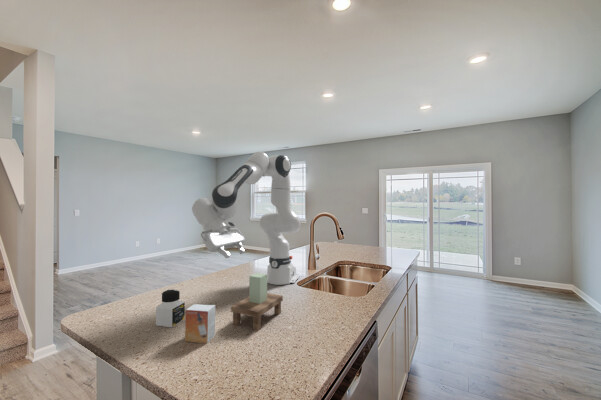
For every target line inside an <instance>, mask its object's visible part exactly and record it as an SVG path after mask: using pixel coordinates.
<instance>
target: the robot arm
mask: <svg viewBox="0 0 601 400" xmlns="http://www.w3.org/2000/svg"><path fill="white" fill-rule="evenodd" d="M291 168H292V164H291V159H290V158H289V157H288V156H287V155H283V154H281V155H280V154H279V155H270V156H268V155H267V153H265V152H263V151H255V152H254V153H252V155H251V156H249V157H248V158H247V159H246V161H244V163H243V164H242V165H241V166H240V167H239V168H238V169H237V170H236V171H234V172H233V174H231V176H229V177H228V179H226V180H225V181H224V182H221V183H220V184H218V185H216V186H215V187H214V188H213V190H212V193H211V197H212V198H206V197H200V198H198V199H197V200H195V201H194V203H193V204H192V206H191V212H192V213H193V216H194V217H195V219H196V220H197V222H198V223H199V224H200V225H201V226H202V227H203V230H204V231H202V232H201V234H200V237H201V239H202V241H203V243H204V246H205V247H206V249H207V250H208V251H209V252H210V253H215V252H218V253H219V254H220V255H222V256H223V257H224V258H225V259H228V258H230V257H231V253H230V252H229V251H227V249H230V248H234V247H236V248H237V249H238V252H239V254H240V255H242V254H244V253H245V252H246V250H245V249H244V245H243V244H244V243H245V242H246V238H245V236H244V235H243V233H242V232H241V231H240V229H239V228H237V225H236V224H235V223H234V222H230V221H228V219H230V218H232V217H234V215H235V214H236V211H237V198H238V192H239V190H240V189H241V188H242V186H243V185H244V184H248V185H255V184H257V183H259V181H260V180H261V178H263V177H271V187H270V188H271V189H270V193H271V194H270V203H271V204H272V206H274V207H275V208H276V210H277V212H276V213H273V212H272V213H271V212H270V213H266V214H263V215H262V216H261V218H260V220H259V225H260V228H261V230H262V231H264V232H265V234H266V237H267V239H268V242H269V258H268V261H269V262H268V263H269V264H268V265H267V268H266V269H267V271H266V274H267V284H270V285H274V286H280V285H281V286H282V285H291V284H290V283H294V284H295V283H296V282H297V281H298V280H299V279H300V277H301V275H300V274H298V273H297V269H296V266H295V265H294V264H292V261H291V260H293V256H292V255H290V243H289V241H288V240H287V239H286V238H285V237H284V235H283V234H293V233H294V234H295V233H297V232H298V231H299V230H300V228H301V226H302V225H301V219H300V217H299V216H298V215H297V214H296V213H295V211H294V209H293V207H292V203H291V202H292V201H291V179H290V172H291ZM299 276H300V277H299ZM297 279H298V280H297ZM296 280H297V281H296ZM295 281H296V282H295Z"/></svg>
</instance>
